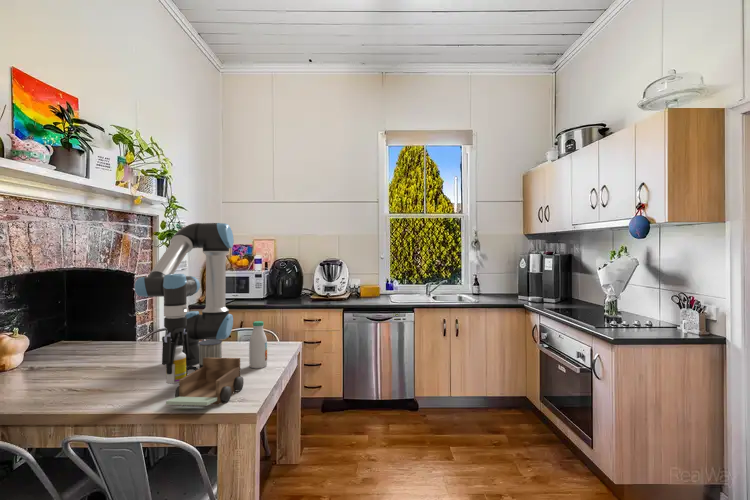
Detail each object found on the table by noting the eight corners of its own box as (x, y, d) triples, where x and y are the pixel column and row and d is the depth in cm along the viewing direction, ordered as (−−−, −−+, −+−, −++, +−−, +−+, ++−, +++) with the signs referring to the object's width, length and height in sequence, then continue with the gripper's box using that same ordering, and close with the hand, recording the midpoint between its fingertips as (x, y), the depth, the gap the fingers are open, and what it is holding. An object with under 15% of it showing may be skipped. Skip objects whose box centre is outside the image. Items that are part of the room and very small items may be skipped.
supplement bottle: (190, 379, 155) (189, 345, 154) (176, 385, 149) (176, 349, 148) (176, 377, 157) (175, 343, 157) (162, 383, 151) (161, 348, 150)
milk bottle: (262, 369, 182) (262, 323, 182) (246, 368, 184) (246, 322, 184) (270, 364, 190) (270, 320, 190) (254, 363, 191) (254, 320, 191)
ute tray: (174, 403, 142) (174, 371, 142) (200, 386, 160) (199, 357, 160) (224, 404, 141) (224, 372, 141) (245, 387, 159) (244, 358, 159)
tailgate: (177, 401, 140) (165, 406, 133) (178, 396, 141) (166, 401, 133) (216, 402, 139) (206, 407, 132) (217, 397, 140) (207, 402, 132)
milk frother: (224, 379, 168) (224, 342, 168) (181, 385, 160) (181, 347, 160) (218, 370, 181) (218, 336, 181) (178, 376, 173) (177, 340, 173)
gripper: (170, 321, 142) (171, 388, 143) (198, 311, 162) (199, 370, 162) (149, 321, 143) (150, 388, 143) (179, 311, 162) (180, 370, 163)
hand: (176, 378), depth 153 cm, fingers closed on supplement bottle, 7 cm apart
